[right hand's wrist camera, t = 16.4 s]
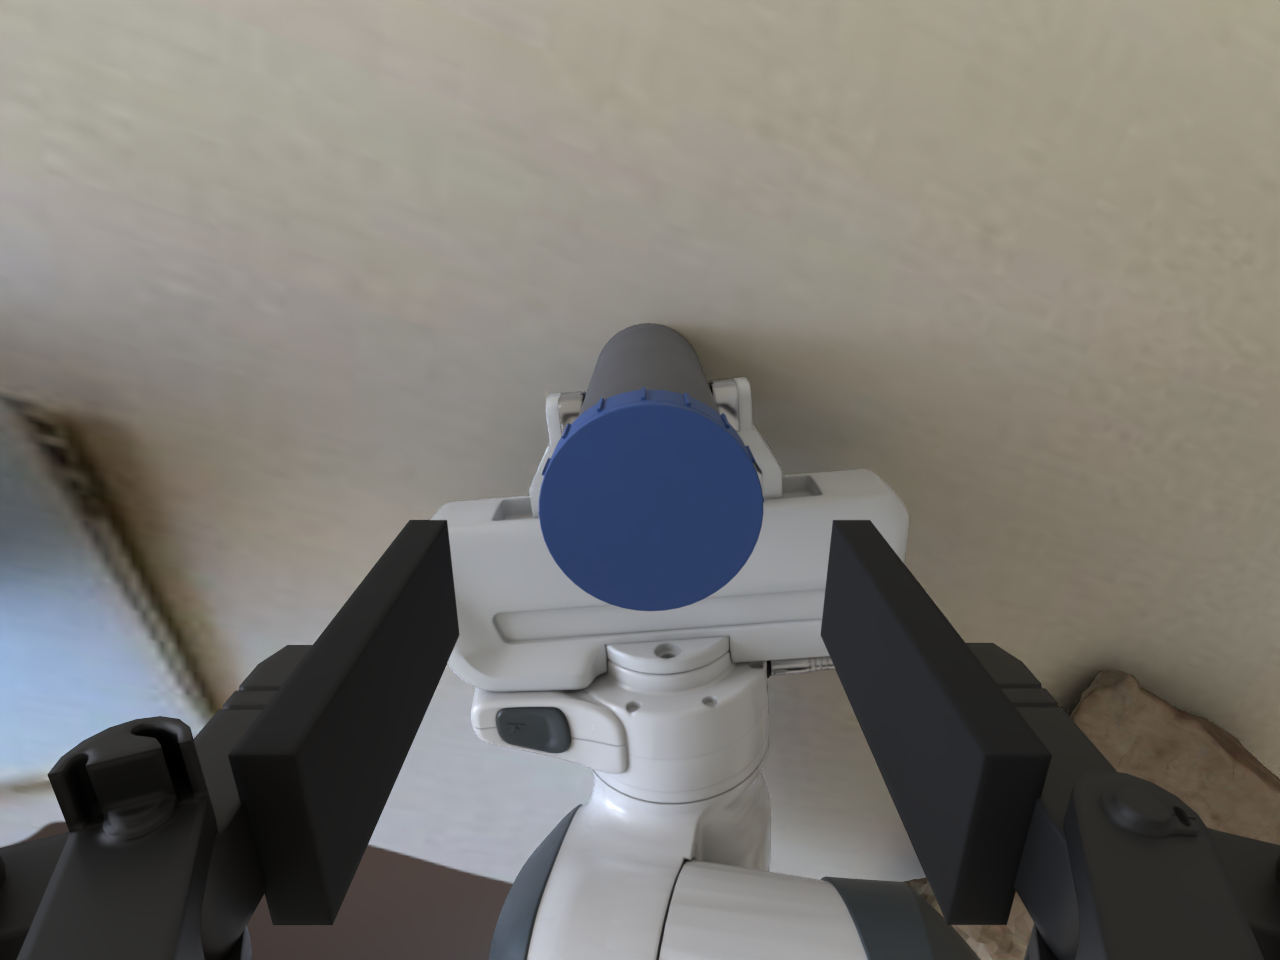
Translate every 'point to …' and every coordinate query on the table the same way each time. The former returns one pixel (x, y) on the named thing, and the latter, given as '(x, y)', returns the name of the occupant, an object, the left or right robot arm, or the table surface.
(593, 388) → the dark grey bottle
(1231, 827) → the stone
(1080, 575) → the table surface
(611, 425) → the lid
